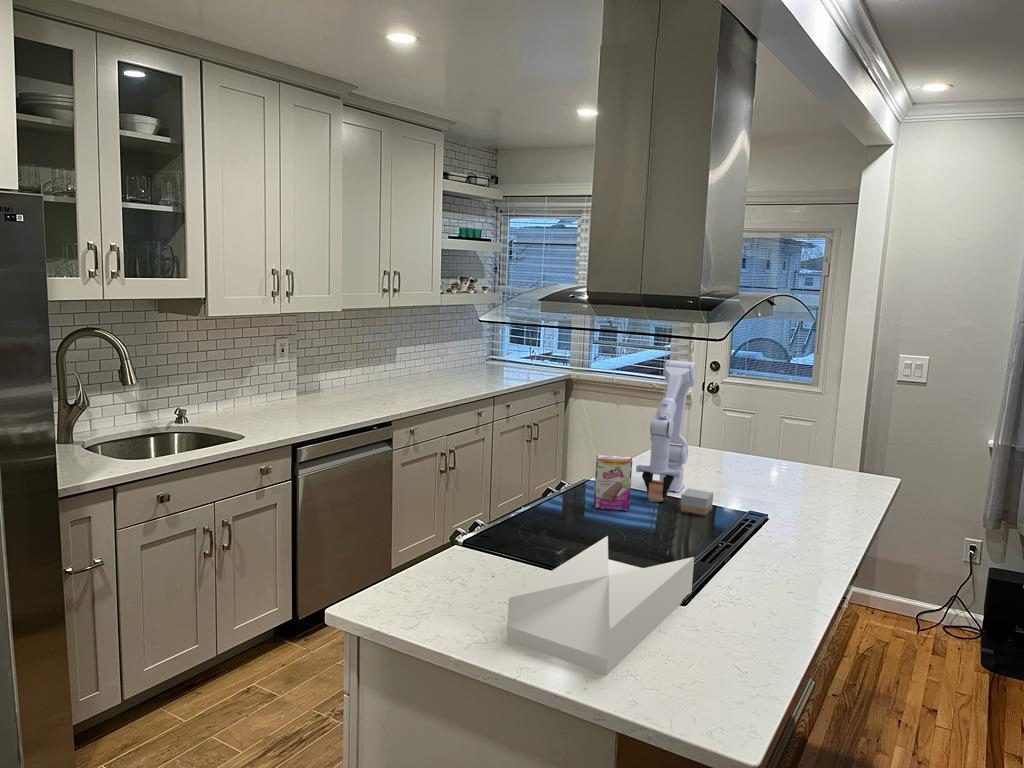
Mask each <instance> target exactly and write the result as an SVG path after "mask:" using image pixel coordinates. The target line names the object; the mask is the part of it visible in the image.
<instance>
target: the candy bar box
mask: <svg viewBox="0 0 1024 768" xmlns="http://www.w3.org/2000/svg"><path fill="white" fill-rule="evenodd" d="M595 461H596V462H595V473H594V475H595V476H594V489H593V491H594V492H593V509H594V508H604V509H603V510H605V509H628V510H629V511H630V502H631V501H630V498H631V488H632V487H631V484H632V472H633V471H632V470H633V458H632V457H631V456H620V455H605V454H596V460H595Z"/></svg>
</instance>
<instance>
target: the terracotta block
mask: <svg viewBox="0 0 1024 768" xmlns="http://www.w3.org/2000/svg"><path fill="white" fill-rule="evenodd" d="M663 490H664V482H663V481H660V480H655V479H652V481H651V482H650V483H649V493H648V495H647V496H648V497H647V500H648V499H652V500H659V501H662V500H663V499H664V498H663Z"/></svg>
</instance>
